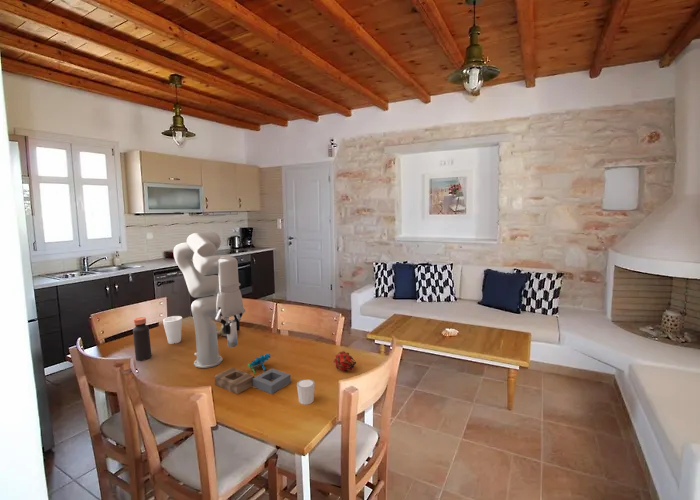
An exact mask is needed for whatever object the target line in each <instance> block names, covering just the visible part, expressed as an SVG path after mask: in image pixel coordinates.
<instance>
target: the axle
mask: <svg viewBox="0 0 700 500" xmlns="http://www.w3.org/2000/svg"><path fill="white" fill-rule="evenodd" d="M228 324H229V325H230V334H229V335H228V334H227V336H226V340H227V344H226V345H227V347H228V348H234V347H237V346H239V345H238V344H239V343H238V340H239V339H238V331H237V322H236V320H234V319H233V320H232V319H229V322H228Z"/></svg>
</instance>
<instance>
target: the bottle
mask: <svg viewBox="0 0 700 500" xmlns="http://www.w3.org/2000/svg"><path fill="white" fill-rule="evenodd" d="M133 321H134V322H133V323H134V326H135V327H134V328H133V329H132V333H133V334H132V337H133V343H134V353H135V354H134V355H135V360H136V361H138V362H139V361H141V362H142V361H146V360H149V359H150V358H151V357H152V347H151V336H150V335H151V334H150V327H149V326H148V325H146V324H147V318H146V317H144V316H143V317H135V318H134V319H133Z"/></svg>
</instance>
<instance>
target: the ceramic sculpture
mask: <svg viewBox="0 0 700 500" xmlns="http://www.w3.org/2000/svg"><path fill="white" fill-rule="evenodd" d="M231 320H234V318H232V319H231ZM221 336H223V337H227V334H225V333H224V330H223V324H221V326H220V328H219V329H217V338H219V337H221Z"/></svg>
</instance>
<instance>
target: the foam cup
mask: <svg viewBox="0 0 700 500" xmlns="http://www.w3.org/2000/svg"><path fill="white" fill-rule="evenodd" d="M162 324H163V327H164V332H165V336H166V338H167V339H166V340H167V344H170V345H174V343H175V344H178V343H180V342H181V340H182V326H183V317H182V316H181V315H172V316H168V317H167V316H166V317H165V318H163V320H162Z"/></svg>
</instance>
